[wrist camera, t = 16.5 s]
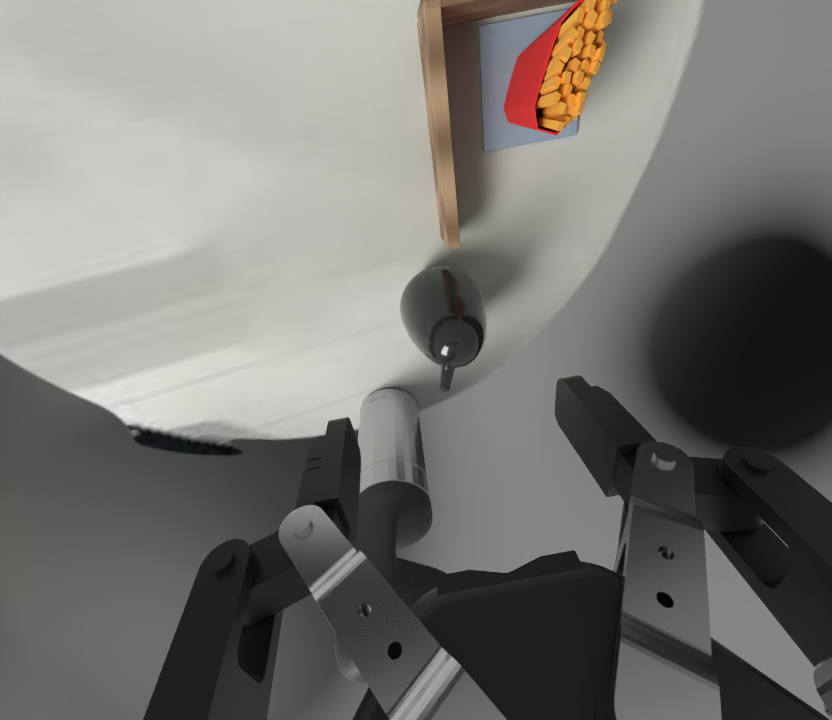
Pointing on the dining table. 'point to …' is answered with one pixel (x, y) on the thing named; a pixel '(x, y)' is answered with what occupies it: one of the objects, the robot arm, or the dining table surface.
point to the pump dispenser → (445, 318)
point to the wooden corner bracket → (441, 7)
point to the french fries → (559, 69)
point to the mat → (496, 70)
